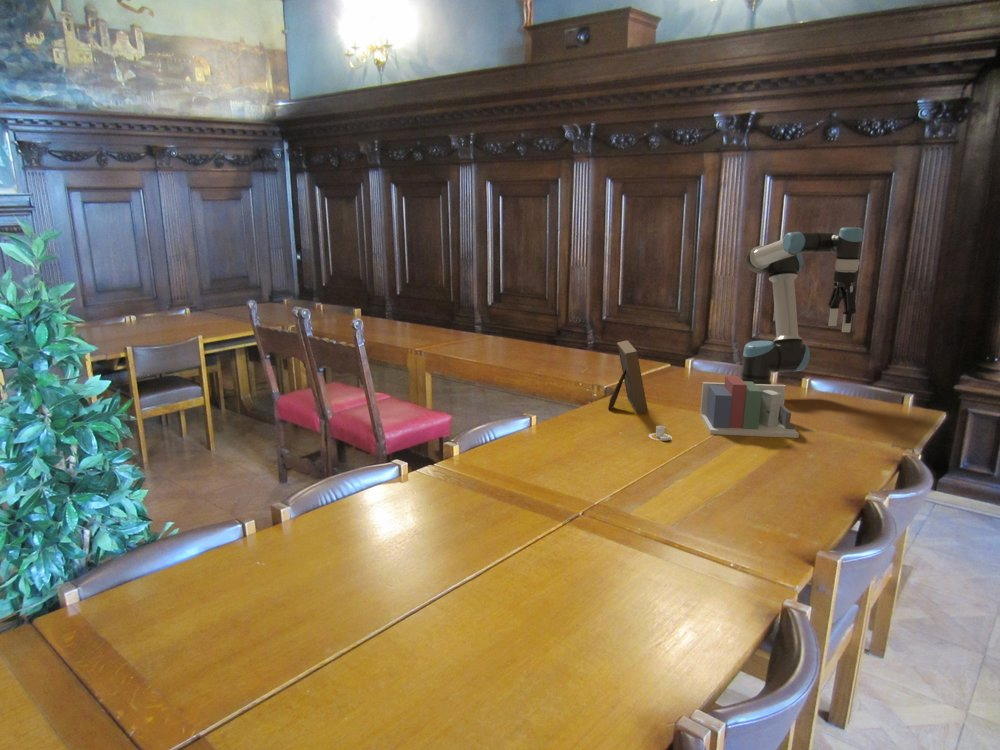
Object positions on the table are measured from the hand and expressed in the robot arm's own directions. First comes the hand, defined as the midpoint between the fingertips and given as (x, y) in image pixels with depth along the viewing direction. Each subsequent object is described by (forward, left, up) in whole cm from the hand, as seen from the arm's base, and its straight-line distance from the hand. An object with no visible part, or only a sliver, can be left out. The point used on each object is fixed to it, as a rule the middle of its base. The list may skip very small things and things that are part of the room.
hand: (838, 328), depth 248 cm
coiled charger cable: (+33, -68, -35) cm, 83 cm away
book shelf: (+15, -33, -35) cm, 50 cm away
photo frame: (-6, -76, -35) cm, 84 cm away
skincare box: (+15, -26, -33) cm, 45 cm away
